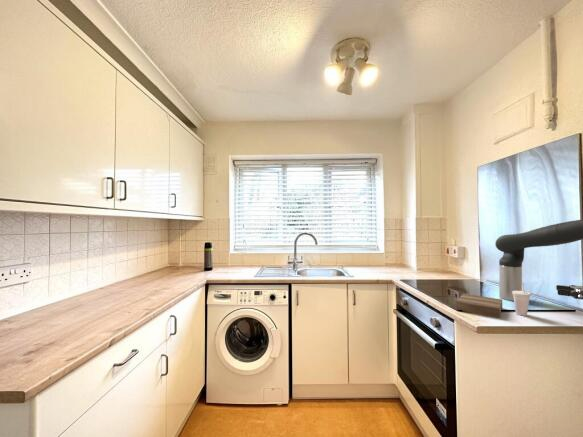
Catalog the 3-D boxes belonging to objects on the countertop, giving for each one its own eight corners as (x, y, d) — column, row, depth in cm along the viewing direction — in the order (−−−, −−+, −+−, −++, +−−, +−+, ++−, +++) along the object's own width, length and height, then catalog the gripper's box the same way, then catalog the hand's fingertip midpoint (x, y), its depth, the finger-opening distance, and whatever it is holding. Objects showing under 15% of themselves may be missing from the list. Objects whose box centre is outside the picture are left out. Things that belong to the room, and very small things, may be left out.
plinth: (463, 301, 142) (462, 293, 141) (502, 308, 131) (502, 299, 131) (456, 309, 129) (456, 301, 129) (499, 317, 119) (499, 308, 119)
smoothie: (534, 317, 119) (534, 284, 119) (517, 316, 120) (517, 284, 120) (525, 312, 125) (525, 281, 125) (508, 311, 126) (508, 280, 126)
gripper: (612, 282, 110) (555, 277, 120) (620, 290, 99) (557, 283, 110) (612, 301, 110) (556, 294, 120) (621, 311, 99) (558, 303, 110)
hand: (556, 289), depth 115 cm, fingers open, 8 cm apart
